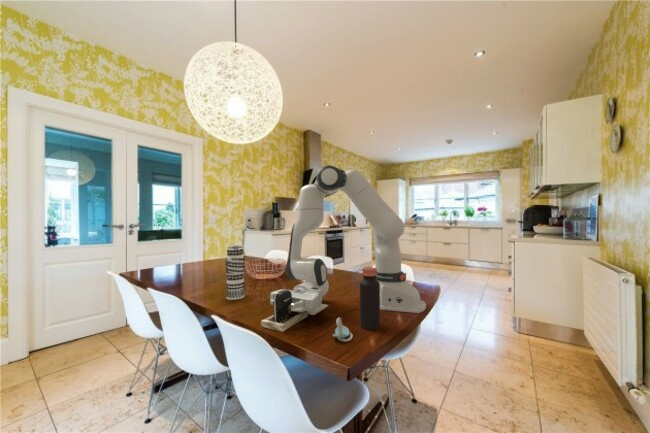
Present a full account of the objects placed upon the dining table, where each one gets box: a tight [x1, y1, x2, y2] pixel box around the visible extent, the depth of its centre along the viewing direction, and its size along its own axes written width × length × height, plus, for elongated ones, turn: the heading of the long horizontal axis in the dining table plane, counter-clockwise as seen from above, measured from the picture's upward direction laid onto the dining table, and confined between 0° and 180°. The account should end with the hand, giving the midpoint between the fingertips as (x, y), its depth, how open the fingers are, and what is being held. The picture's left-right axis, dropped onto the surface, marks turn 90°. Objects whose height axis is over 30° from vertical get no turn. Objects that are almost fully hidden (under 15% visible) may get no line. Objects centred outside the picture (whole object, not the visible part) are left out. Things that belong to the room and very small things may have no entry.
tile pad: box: [291, 303, 329, 316], centre depth 109 cm, size 12×12×1 cm
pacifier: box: [332, 317, 354, 343], centre depth 82 cm, size 7×6×6 cm
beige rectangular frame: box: [260, 307, 309, 333], centre depth 95 cm, size 9×16×2 cm, turn 151°
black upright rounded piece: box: [272, 288, 292, 323], centre depth 94 cm, size 7×4×11 cm, turn 150°
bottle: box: [359, 266, 381, 331], centre depth 90 cm, size 7×7×20 cm
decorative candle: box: [224, 244, 246, 301], centre depth 126 cm, size 9×9×25 cm
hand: (281, 304), depth 94 cm, fingers open, 8 cm apart
